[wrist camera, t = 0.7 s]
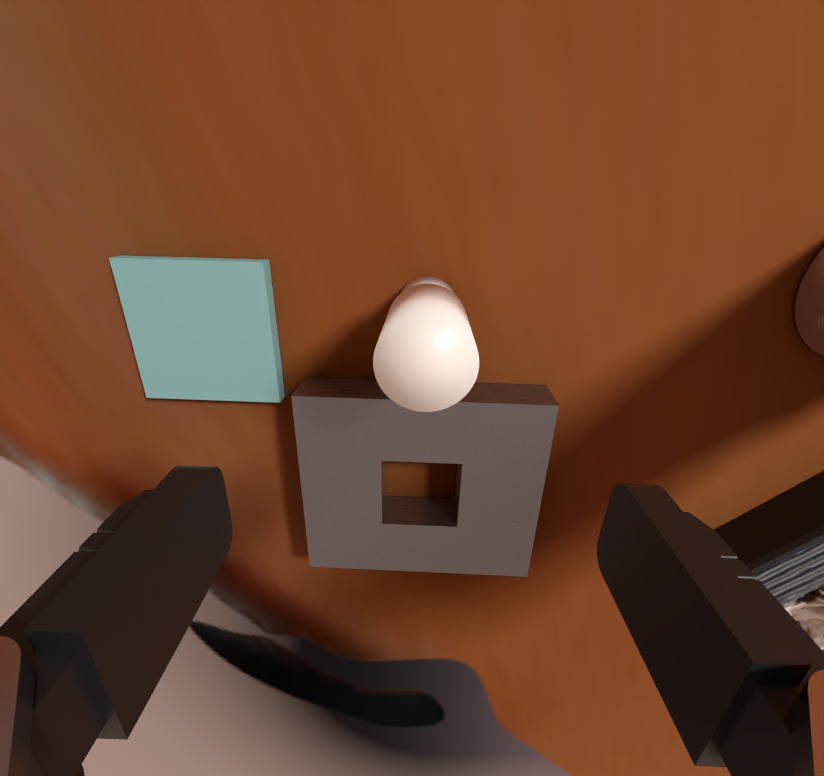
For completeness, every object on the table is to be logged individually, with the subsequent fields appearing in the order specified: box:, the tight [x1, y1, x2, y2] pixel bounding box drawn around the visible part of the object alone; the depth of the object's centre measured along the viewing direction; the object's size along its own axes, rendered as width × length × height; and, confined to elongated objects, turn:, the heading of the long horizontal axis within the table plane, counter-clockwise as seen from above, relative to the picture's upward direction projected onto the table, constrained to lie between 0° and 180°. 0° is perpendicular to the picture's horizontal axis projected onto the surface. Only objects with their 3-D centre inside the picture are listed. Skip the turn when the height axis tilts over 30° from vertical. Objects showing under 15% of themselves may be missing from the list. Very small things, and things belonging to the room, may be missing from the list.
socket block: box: [291, 377, 559, 577], centre depth 29 cm, size 16×14×3 cm
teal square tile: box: [109, 256, 285, 403], centre depth 26 cm, size 9×9×1 cm
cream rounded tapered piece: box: [373, 276, 479, 412], centre depth 21 cm, size 4×4×10 cm
